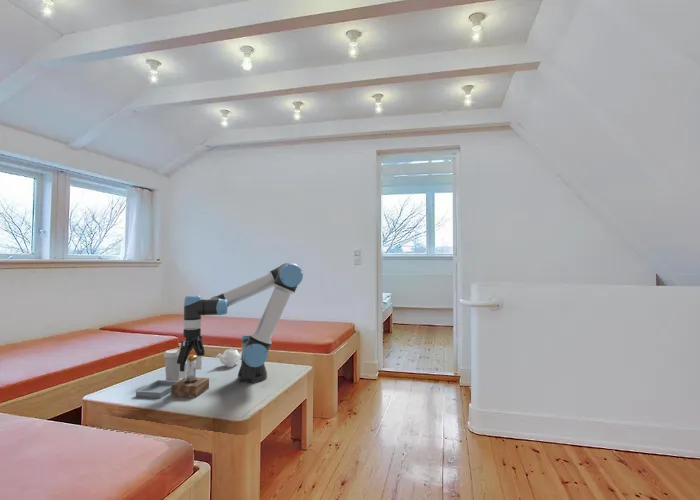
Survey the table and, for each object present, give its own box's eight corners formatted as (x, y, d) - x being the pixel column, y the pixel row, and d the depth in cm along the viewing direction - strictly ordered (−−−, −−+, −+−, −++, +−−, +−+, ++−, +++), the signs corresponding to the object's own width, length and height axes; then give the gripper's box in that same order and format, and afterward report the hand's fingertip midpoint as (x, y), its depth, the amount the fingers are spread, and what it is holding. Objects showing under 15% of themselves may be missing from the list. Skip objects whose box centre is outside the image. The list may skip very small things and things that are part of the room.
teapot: (210, 367, 211) (211, 351, 211) (240, 360, 226) (241, 345, 226) (219, 371, 204) (219, 354, 205) (249, 363, 220) (250, 348, 220)
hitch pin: (198, 390, 174) (199, 354, 174) (192, 394, 169) (193, 357, 169) (188, 390, 174) (189, 354, 175) (182, 393, 169) (183, 357, 170)
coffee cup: (175, 384, 182) (175, 353, 183) (158, 382, 184) (159, 352, 185) (187, 378, 192) (188, 349, 192) (171, 376, 194) (172, 348, 194)
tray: (180, 386, 179) (181, 381, 179) (160, 398, 163) (160, 392, 163) (158, 385, 180) (158, 380, 181) (135, 397, 165) (136, 391, 165)
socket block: (208, 388, 177) (209, 378, 177) (196, 397, 165) (196, 386, 165) (185, 387, 178) (185, 376, 178) (171, 396, 166) (171, 385, 166)
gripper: (198, 323, 185) (197, 365, 184) (169, 333, 160) (167, 381, 160) (212, 324, 184) (211, 366, 184) (185, 333, 159) (183, 382, 159)
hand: (191, 373), depth 172 cm, fingers open, 13 cm apart
